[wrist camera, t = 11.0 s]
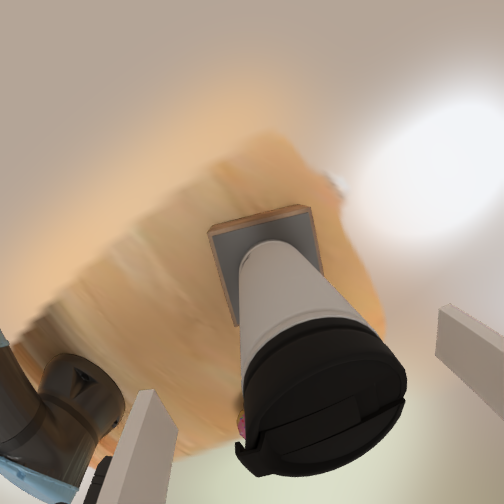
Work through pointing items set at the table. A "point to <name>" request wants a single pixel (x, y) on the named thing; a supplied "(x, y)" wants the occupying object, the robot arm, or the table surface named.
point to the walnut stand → (253, 231)
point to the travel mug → (308, 369)
